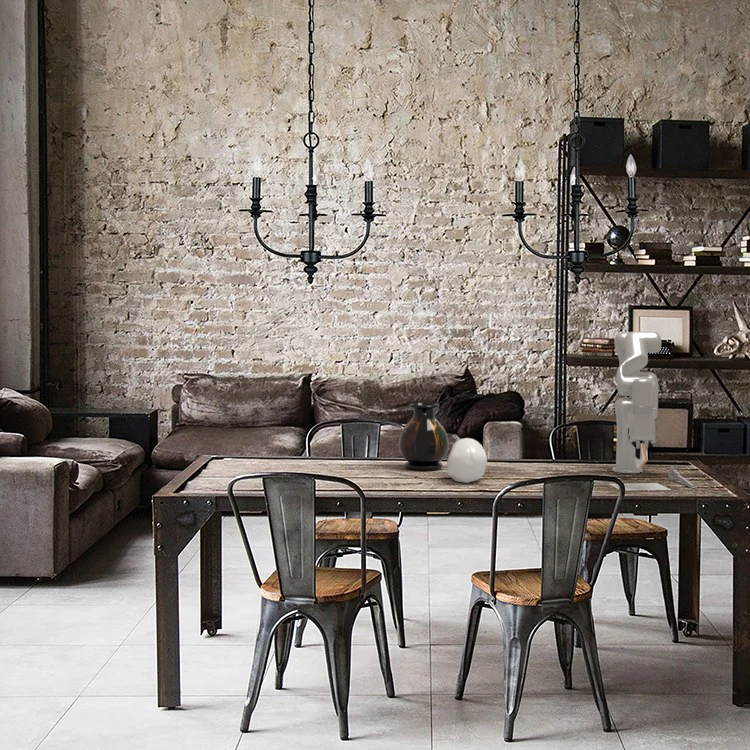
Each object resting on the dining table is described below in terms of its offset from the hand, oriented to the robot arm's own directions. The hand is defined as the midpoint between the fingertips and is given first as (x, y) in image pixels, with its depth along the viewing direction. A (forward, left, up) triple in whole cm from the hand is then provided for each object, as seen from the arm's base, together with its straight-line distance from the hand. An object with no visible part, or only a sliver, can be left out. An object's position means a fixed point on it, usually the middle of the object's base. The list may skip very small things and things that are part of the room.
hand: (640, 458), depth 385 cm
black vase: (-56, -76, -12) cm, 95 cm away
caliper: (-11, +21, -13) cm, 27 cm away
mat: (-4, +1, -12) cm, 13 cm away
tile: (+2, 0, -2) cm, 3 cm away
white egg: (-26, -63, -13) cm, 69 cm away
